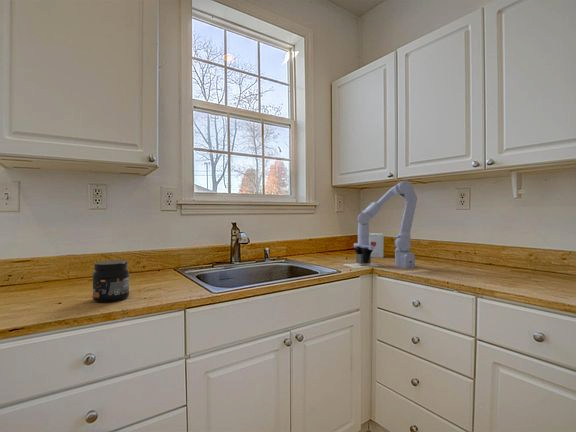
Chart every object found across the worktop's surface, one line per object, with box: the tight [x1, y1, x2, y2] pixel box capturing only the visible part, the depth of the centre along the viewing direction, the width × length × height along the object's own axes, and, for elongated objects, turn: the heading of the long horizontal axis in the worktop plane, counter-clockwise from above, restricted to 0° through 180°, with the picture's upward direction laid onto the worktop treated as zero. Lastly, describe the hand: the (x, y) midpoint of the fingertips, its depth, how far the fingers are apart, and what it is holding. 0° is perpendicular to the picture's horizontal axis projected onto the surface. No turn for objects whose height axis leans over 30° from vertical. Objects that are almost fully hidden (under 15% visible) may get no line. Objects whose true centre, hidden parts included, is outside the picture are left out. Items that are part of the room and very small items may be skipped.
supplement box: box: [369, 232, 385, 259], centre depth 202 cm, size 9×9×15 cm
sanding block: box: [355, 253, 372, 265], centre depth 162 cm, size 4×6×5 cm, turn 112°
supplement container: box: [91, 259, 130, 304], centre depth 102 cm, size 10×10×12 cm
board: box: [341, 263, 381, 269], centre depth 161 cm, size 11×16×1 cm
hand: (363, 262), depth 162 cm, fingers closed on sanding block, 4 cm apart
